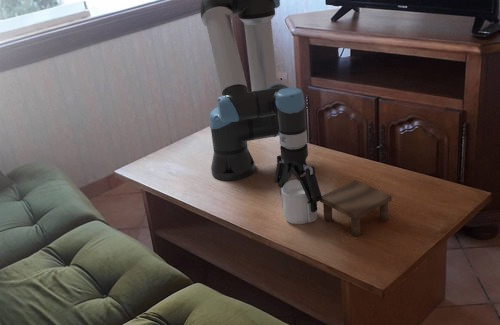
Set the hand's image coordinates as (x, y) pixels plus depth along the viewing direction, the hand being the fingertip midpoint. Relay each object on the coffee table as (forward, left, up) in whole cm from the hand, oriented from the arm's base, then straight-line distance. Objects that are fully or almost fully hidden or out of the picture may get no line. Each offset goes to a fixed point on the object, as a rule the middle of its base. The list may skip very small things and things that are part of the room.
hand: (299, 213), depth 173 cm
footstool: (+13, +10, -1) cm, 16 cm away
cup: (0, 0, -1) cm, 1 cm away
